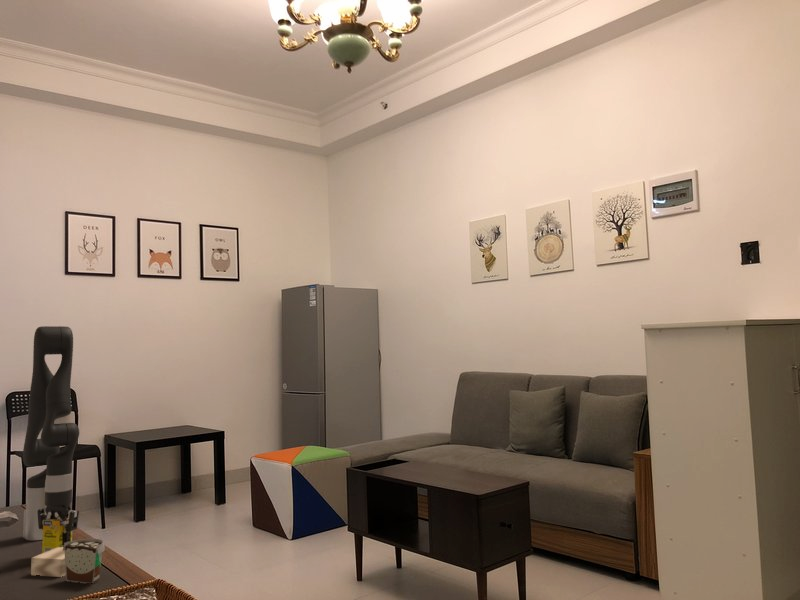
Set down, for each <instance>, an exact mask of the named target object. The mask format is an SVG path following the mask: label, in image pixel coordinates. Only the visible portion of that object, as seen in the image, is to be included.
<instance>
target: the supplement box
mask: <svg viewBox="0 0 800 600" xmlns="http://www.w3.org/2000/svg"><path fill="white" fill-rule="evenodd" d="M68 520H69V519H68V518H67V519H64V520H57V519H47V520H44V521H43V540H42V542H41V543H42V545H41V551H42V552H41V554H42V553H45V552H47V551H49V550H52V549H54V548H57V547H63V546H64V545H62V538H63V526H62V522H67V521H68ZM65 526H66V528H67V524H66V525H65ZM71 541H73V531H71Z"/></svg>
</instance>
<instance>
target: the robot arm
mask: <svg viewBox="0 0 800 600" xmlns="http://www.w3.org/2000/svg"><path fill="white" fill-rule="evenodd" d="M32 351H33V356H32V357H33V358H32V375H31V383H30V391H29V399H28V414H27V415H28V416H27V426H26V432H25V437H24V444H23V450H22V461H23V465H24V466H25V467H28V468H31V467H32V468H33V467H42V466H46V468H45V469H43V471H41V472H39V473H38V474H35V475H33V476H30V477H29V478H28V479H27V481H26V506H25V507H26V508H25V509H23V526H22V527H23V528H22V530H23V532H22V539H25V540H26V541H43V521H44V520H47V519H57V520H64V519H67V518H68V519H69V520H68V521H67V522H62V526H63V538H62V545H64V543H66V542H70V541H71V531H72V532H73V531H75V530H77V528H78V522H79V515H80V510H79V509H75V510H73V509H71V503H72V501H73V458H74V452H75V450H76V449H75V448H76V447H77V444H78V440H79V437H80V428H79V426H78V425H77V424H76V422H75V423H74V422H64V423H55V420H57V419H61V418H64V417H67V416H69V415H70V414H71V413H72V398H71V397H72V396H71V395H72V394H71V383H72V382H71V380H72V369H73V367H72V366H73V356H74V355H73V354H74V335H73V330H72V328H71V327H70V326H60V325H59V326H58V325H57V326H55V325H54V326H53V325H52V326H51V325H50V326H49V325H48V326H39V327H37V328H36V330H35V331H34V336H33V350H32ZM46 355H48V356H49V355H50V356H51V355H52V356H53V355H61V361H60V365H59V366H58V368H57V371H55V373H54V374H53V373H52V371H51V370H50V368H49V366H48V364H47V362H46V359H45V357H46ZM40 433H41V434H40ZM39 435H40V438H39ZM61 447H64V448H63V449H62V450H60V449H61ZM66 524H67V528H66V526H65V525H66Z"/></svg>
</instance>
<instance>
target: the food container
mask: <svg viewBox="0 0 800 600" xmlns="http://www.w3.org/2000/svg"><path fill="white" fill-rule="evenodd" d="M64 550H65V569H66V575H65V581H66V582H70V581H71V582H72V583H78V582H80V584H86V583H95V582H97V581H98V580H99V581H100V576H101V575H100V574H101V567H102V566H101V565H102V557H103V552H104V551H105V550H106V546H105V543H104V541H103V540H102V539H99V538H81V539H75V540H72V541H70V542H66V543H64V546H63V551H64ZM99 581H98V582H99ZM71 582H70V583H71ZM98 582H97V583H98ZM95 584H96V583H95Z"/></svg>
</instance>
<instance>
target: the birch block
mask: <svg viewBox="0 0 800 600" xmlns="http://www.w3.org/2000/svg"><path fill="white" fill-rule="evenodd" d="M30 559H31V560H30V561H31V562H30V565H31V566H30V575H31V576H36V575H40V576H39V577H54V578H55V577H56V578H63V577H66V569H65V550H64V551H63V547H57V548H54V549H52V550H49V551H47V552H45V553H42V552H41V553H40V554H37V555H35V556H33V557H31V558H30ZM62 576H63V577H62Z"/></svg>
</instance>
